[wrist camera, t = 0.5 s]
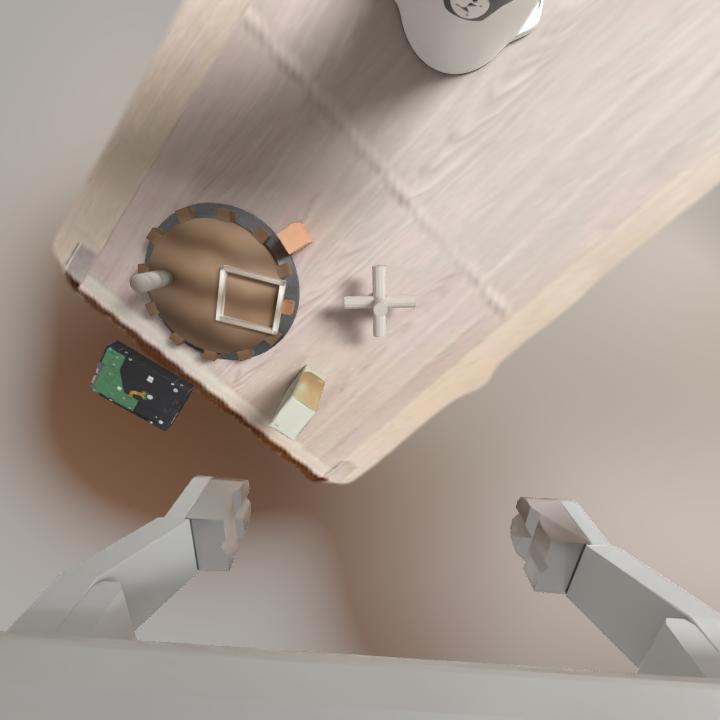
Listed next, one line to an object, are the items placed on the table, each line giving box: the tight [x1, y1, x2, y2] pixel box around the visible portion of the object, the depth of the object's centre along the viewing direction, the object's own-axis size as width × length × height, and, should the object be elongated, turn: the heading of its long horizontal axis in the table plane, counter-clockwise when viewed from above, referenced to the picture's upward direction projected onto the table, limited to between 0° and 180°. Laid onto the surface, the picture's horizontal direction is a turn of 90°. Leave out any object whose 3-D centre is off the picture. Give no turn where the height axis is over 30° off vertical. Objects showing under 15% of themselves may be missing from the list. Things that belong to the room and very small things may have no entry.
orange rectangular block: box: [277, 222, 313, 254], centre depth 47 cm, size 3×3×5 cm
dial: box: [130, 207, 295, 361], centre depth 48 cm, size 23×23×8 cm
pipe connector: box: [344, 265, 416, 337], centre depth 48 cm, size 10×10×10 cm
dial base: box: [145, 203, 299, 359], centre depth 52 cm, size 24×24×1 cm
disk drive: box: [89, 340, 194, 431], centre depth 59 cm, size 10×3×15 cm
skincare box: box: [269, 365, 326, 440], centre depth 53 cm, size 6×4×12 cm
